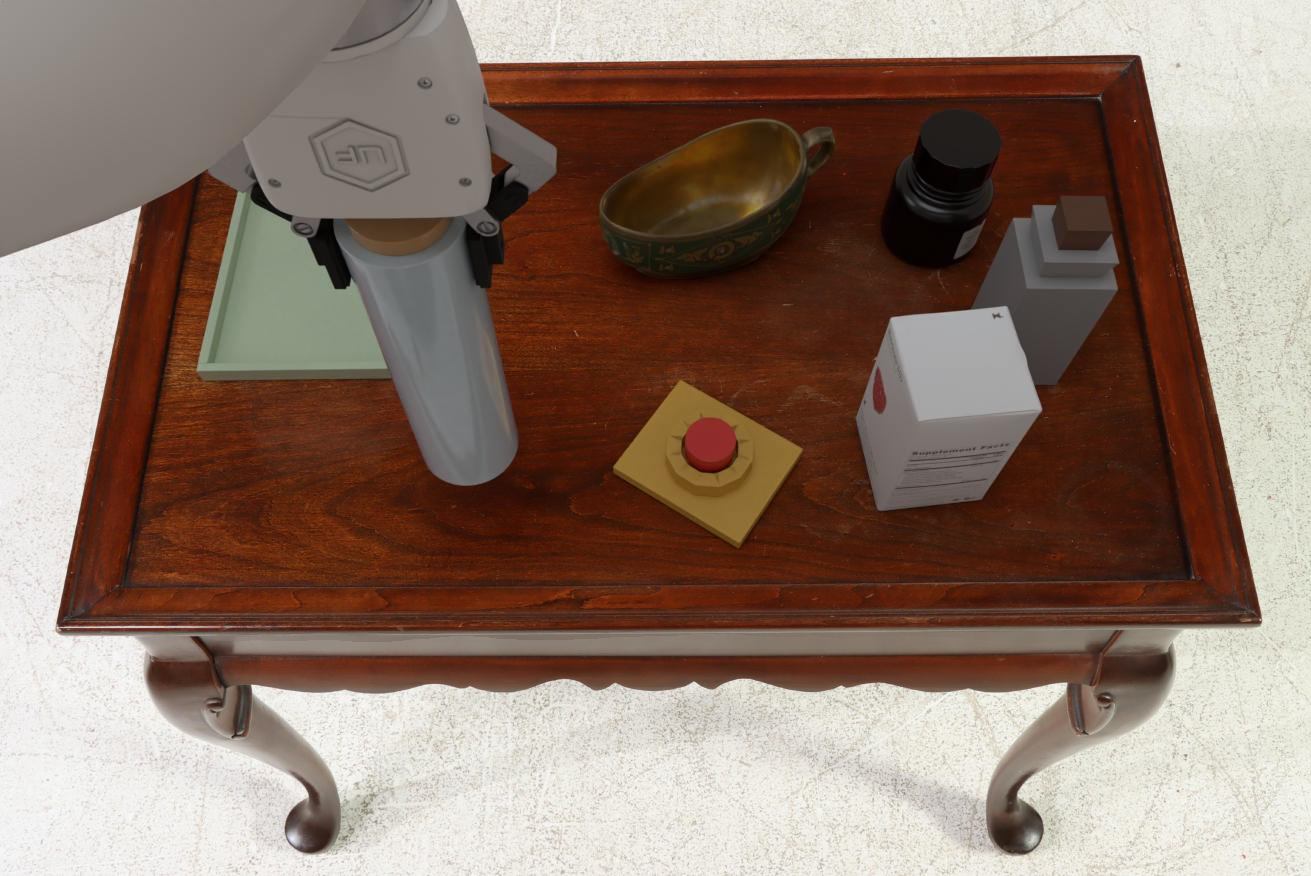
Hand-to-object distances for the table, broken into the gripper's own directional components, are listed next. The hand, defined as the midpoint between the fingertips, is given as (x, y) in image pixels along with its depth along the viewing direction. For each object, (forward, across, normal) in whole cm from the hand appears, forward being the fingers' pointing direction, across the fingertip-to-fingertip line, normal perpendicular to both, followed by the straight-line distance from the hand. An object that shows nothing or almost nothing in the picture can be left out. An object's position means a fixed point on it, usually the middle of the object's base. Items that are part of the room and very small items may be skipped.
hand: (416, 265), depth 54 cm
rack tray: (+32, -17, +28) cm, 45 cm away
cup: (+32, +19, +28) cm, 46 cm away
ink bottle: (+32, +39, +29) cm, 58 cm away
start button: (+29, +17, +5) cm, 34 cm away
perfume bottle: (+32, +44, +16) cm, 56 cm away
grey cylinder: (+19, 0, 0) cm, 19 cm away
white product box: (+32, +34, +5) cm, 47 cm away
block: (+32, +17, +5) cm, 37 cm away
